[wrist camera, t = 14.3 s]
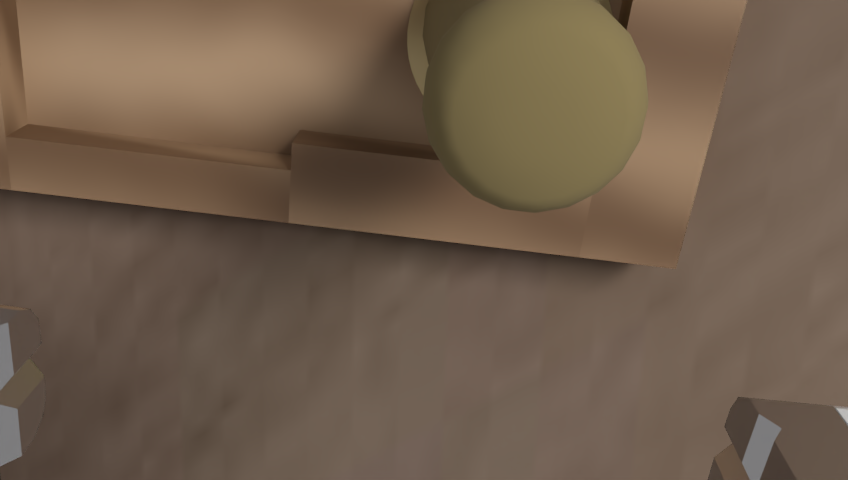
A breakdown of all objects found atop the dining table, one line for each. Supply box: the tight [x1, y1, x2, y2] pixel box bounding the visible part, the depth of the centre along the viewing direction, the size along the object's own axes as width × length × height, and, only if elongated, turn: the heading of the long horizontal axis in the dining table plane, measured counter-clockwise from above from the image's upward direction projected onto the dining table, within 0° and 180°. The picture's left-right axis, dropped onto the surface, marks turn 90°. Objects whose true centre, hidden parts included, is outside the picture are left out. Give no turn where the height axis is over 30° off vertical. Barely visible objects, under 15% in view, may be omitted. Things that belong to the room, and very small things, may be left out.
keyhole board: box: [0, 0, 747, 269], centre depth 27 cm, size 14×26×2 cm, turn 84°
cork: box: [422, 0, 649, 213], centre depth 22 cm, size 6×6×11 cm
